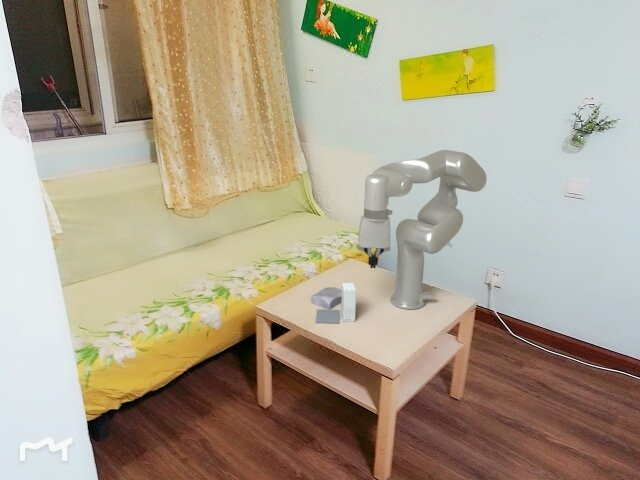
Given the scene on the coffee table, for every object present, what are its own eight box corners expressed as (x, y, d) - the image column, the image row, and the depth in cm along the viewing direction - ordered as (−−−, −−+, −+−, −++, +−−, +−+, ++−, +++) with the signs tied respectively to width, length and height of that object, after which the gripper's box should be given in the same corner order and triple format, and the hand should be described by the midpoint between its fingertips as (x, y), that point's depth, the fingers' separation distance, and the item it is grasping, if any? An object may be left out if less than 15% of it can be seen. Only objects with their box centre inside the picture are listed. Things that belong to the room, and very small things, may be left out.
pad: (339, 310, 165) (339, 309, 165) (339, 323, 157) (339, 322, 157) (317, 310, 166) (317, 309, 166) (315, 323, 157) (315, 322, 157)
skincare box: (355, 321, 158) (356, 290, 154) (343, 322, 158) (343, 290, 154) (352, 313, 164) (353, 282, 160) (340, 313, 164) (341, 282, 159)
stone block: (309, 308, 171) (330, 311, 165) (307, 295, 170) (329, 298, 164) (328, 297, 180) (349, 299, 174) (326, 285, 180) (347, 287, 173)
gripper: (398, 210, 150) (394, 263, 157) (352, 209, 151) (350, 261, 157) (400, 217, 143) (396, 272, 150) (352, 216, 144) (350, 270, 150)
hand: (372, 266), depth 154 cm, fingers closed
